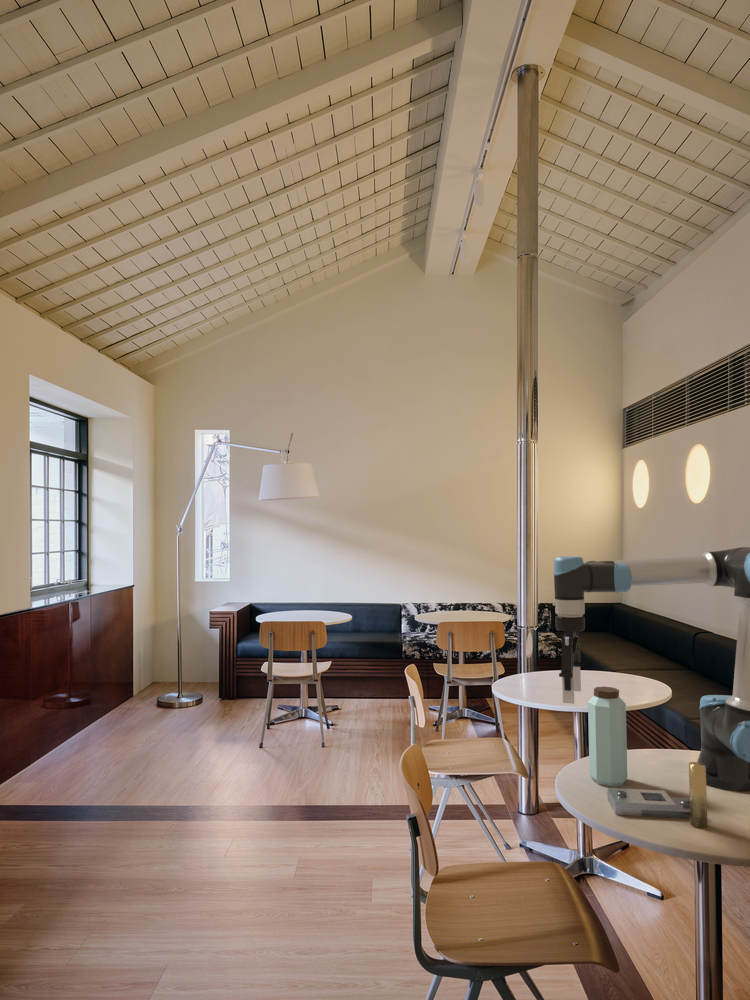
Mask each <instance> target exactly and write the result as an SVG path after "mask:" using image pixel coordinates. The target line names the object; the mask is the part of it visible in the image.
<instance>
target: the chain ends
mask: <svg viewBox="0 0 750 1000" xmlns="http://www.w3.org/2000/svg"><path fill="white" fill-rule="evenodd" d="M607 801H608V802H609V805H610V807H611V809H612V810H613V812H614V814H615V815H616V816H633V817H634V816H635V817H651V818H670V819H672V818H673V819H689V820H690V797H684V796H683V797H681V796H680V797H679V796H678V797H677V796H670V795H669V794H668V793H667V792H666V790H663V789H662V790H660V789H658V790H657V789H641V788H640V789H638V788H615V787H607Z"/></svg>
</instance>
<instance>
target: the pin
mask: <svg viewBox="0 0 750 1000" xmlns="http://www.w3.org/2000/svg"><path fill="white" fill-rule="evenodd" d="M688 783H689V784H688V785H689V787H688V788H689V789H688V790H689V798H690V819H689V820H690V823H689V824H690V825H691V827H693V828H696V829H703V830H705V829H707V828H708V799H707V798H708V796H707V784H706V765H705V764H703V763H700V762H697V761H690V762H688Z"/></svg>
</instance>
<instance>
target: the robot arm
mask: <svg viewBox="0 0 750 1000" xmlns="http://www.w3.org/2000/svg"><path fill="white" fill-rule="evenodd" d="M553 581H554V582H553V585H554V586H553V587H554V601H553V602H552V606H555V608H554V609H555V610H554V612H555V615H556V616H555V617H554V618H555V619H554V622H555V624H554V625H555V630H557V631H559V632H563V636H562V637H561V663H560V664H561V665H560V673H558V677H560V678H561V681H562V687H561V688H562V703H563V704H572V705H573V704H575V692H582V684H581V680H582V679H581V667H584V662H583V661H582V658H581V649H580V637H579V636H580V635H579V634H580V632H583V631H584V632H585V630H586V618H585V616H584V615H585V613H586V612H585V611H586V608H585V607H586V606H585V593H615V594H618V593H626V592H628V591H630V590H631V588H632V587H643V586H665V585H666V586H667V585H669V586H670V585H688V584H689V585H690V584H692V585H693V584H705V585H706V586H708V587H725V588H733V589H734V592H733V593H734V594H733V597H734V598H735V600H736V601H737V602H738V603H739V609H738V610H739V611H738V612H739V613H738V614H739V615H738V624H737V635H736V636H737V637H736V647H735V648H736V649H735V660H734V661H735V663H734V674H733V677H734V678H733V687H732V695H726V694H725V695H723V694H709V695H708V694H707V695H703V696H701V698H700V700H699V707H698V708H699V719H700V740H701V741H700V743H701V747H700V752H699V755H698V758H697V761H696V762H700V763H703V764H705V765H706V786H709V787H713V788H716V789H717V788H718V789H720V790H729V791H734V792H735V791H736V792H737V791H740V792H741V791H750V547H746V546H743V547H735V548H730V549H722V550H718V551H717V550H716V551H715V550H714V551H705V552H704V553H703V554H702V555H696V556H694V555H693V556H674V557H673V556H672V557H656V558H639V559H618V560H601V561H600V560H599V561H596V560H589V561H585V562H584V559H583V557H581V556H557V557H555V559H554V562H553Z"/></svg>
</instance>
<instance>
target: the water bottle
mask: <svg viewBox="0 0 750 1000" xmlns="http://www.w3.org/2000/svg"><path fill="white" fill-rule="evenodd" d="M587 711H588V712H587V714H588V758H589V759H588V760H589V761H588V763H589V766H588V767H589V768H588V769H589V771H588V772H589V777H590V778H591V780H593V781H594V782H595V783H596V784H598V785H602V786H606V787H621V786H623V784H624V783H625V782H626V780H627V778H628V746H627V745H628V741H627V740H628V739H627V736H628V735H627V704H626V702H625V701H624V700H623V699H622V698H621V697H620V689H618V688H616V687H611V686H596V687H595V688H593V696H592V697H591V698H590V699H589V700H588V701H587Z"/></svg>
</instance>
